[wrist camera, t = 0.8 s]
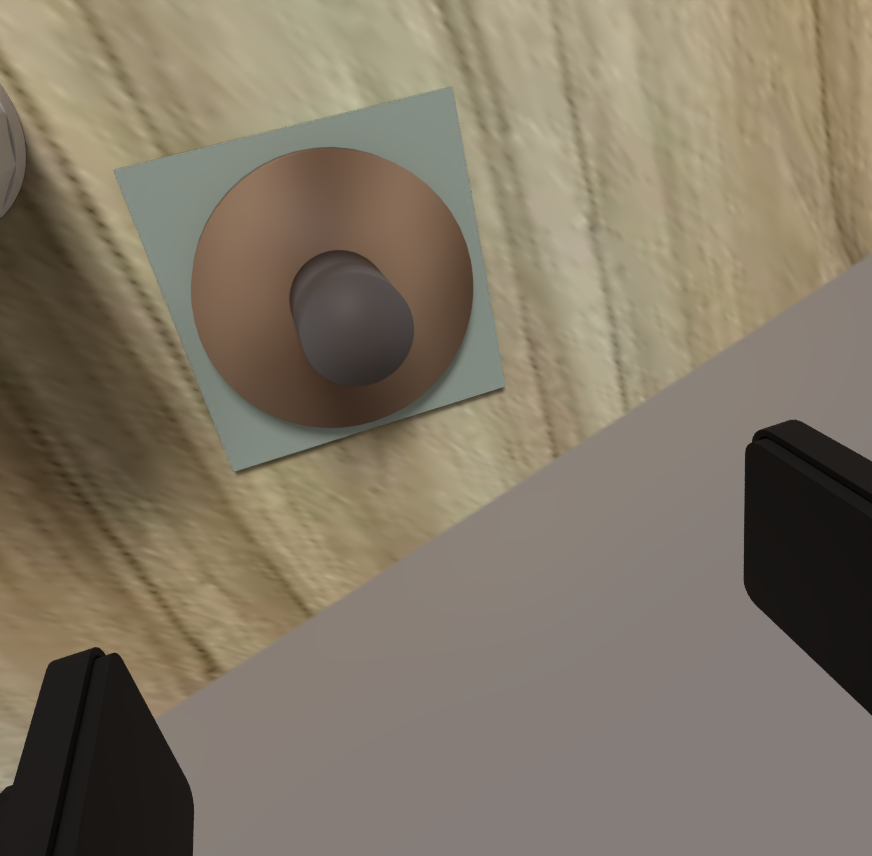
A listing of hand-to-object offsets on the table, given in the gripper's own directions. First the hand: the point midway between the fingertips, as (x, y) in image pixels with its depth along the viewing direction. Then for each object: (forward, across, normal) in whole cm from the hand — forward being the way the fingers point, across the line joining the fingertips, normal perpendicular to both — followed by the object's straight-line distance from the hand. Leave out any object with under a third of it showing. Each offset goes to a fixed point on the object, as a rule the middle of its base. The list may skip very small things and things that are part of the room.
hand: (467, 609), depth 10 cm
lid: (+18, -1, 0) cm, 18 cm away
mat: (+19, -1, 0) cm, 19 cm away
